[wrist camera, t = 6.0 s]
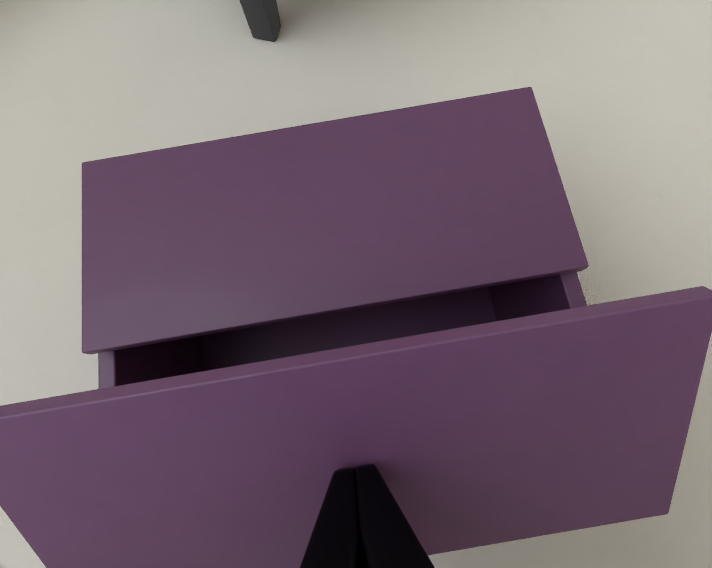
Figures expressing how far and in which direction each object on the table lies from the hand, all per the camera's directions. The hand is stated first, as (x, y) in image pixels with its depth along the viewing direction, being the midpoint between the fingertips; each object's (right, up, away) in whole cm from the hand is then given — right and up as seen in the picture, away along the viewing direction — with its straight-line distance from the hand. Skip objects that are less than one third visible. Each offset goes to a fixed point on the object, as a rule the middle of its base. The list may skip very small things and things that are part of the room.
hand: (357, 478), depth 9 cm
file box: (0, +1, +11) cm, 11 cm away
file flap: (0, 0, 0) cm, 0 cm away
